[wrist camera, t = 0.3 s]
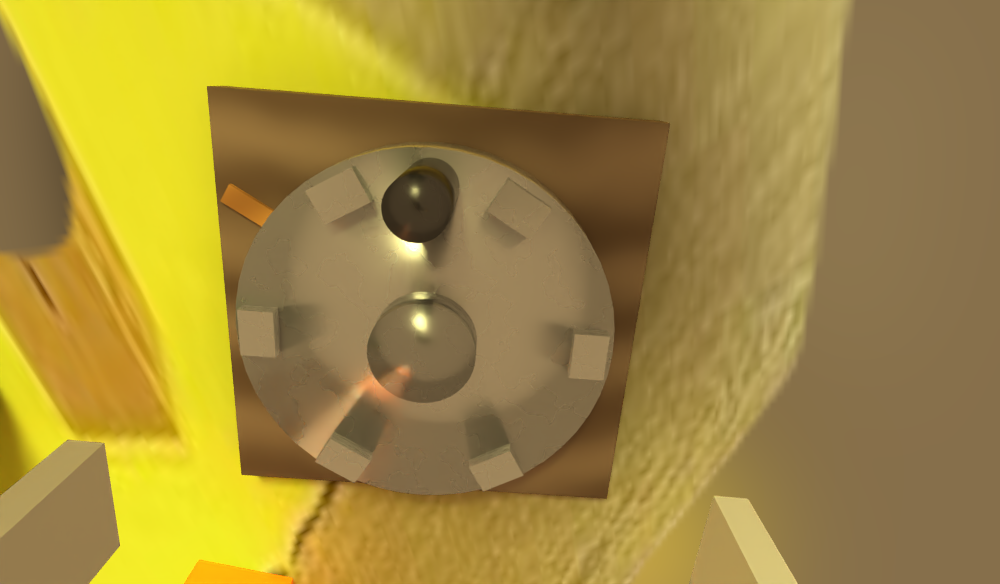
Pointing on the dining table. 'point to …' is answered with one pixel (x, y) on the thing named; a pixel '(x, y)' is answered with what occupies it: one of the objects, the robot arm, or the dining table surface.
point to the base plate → (501, 132)
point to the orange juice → (231, 575)
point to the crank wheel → (425, 319)
